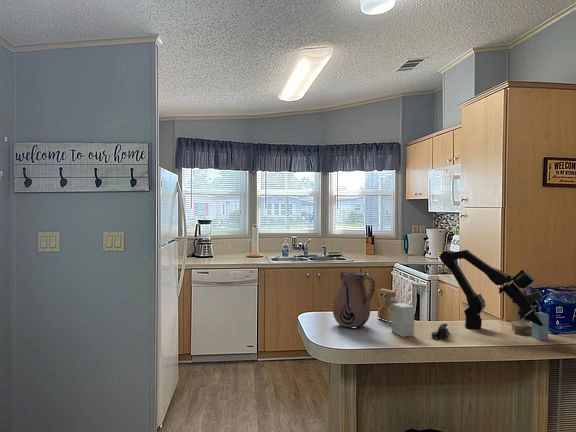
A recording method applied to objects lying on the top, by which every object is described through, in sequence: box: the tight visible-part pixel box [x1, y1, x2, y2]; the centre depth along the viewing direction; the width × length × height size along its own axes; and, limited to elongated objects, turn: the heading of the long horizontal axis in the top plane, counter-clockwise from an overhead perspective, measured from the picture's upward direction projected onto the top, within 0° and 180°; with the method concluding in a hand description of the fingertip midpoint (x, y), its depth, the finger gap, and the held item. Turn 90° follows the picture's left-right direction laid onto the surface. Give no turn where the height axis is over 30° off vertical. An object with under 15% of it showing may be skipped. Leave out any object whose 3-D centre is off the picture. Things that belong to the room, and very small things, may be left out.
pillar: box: [531, 311, 550, 341], centre depth 196 cm, size 4×4×11 cm
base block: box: [511, 320, 532, 336], centre depth 206 cm, size 9×9×4 cm
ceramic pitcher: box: [332, 271, 376, 328], centre depth 210 cm, size 18×21×25 cm
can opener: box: [431, 323, 449, 340], centre depth 198 cm, size 18×7×6 cm, turn 150°
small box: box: [391, 302, 415, 338], centre depth 198 cm, size 8×6×13 cm
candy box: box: [377, 288, 397, 321], centre depth 223 cm, size 9×4×15 cm, turn 33°
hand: (543, 323), depth 195 cm, fingers open, 8 cm apart
